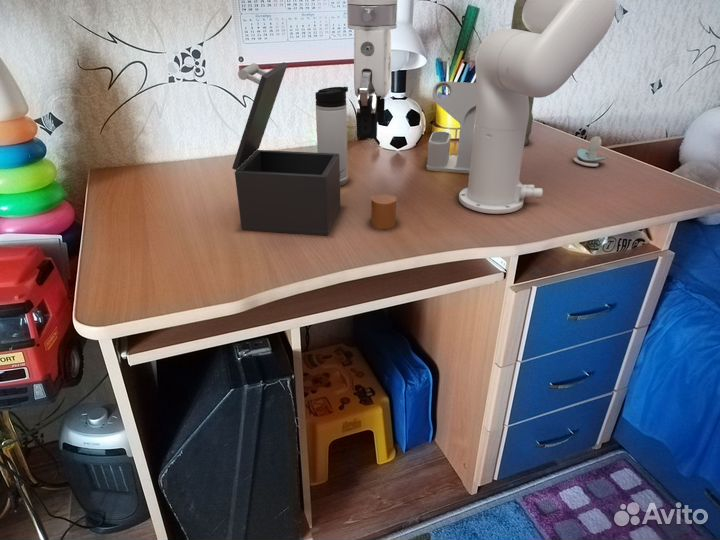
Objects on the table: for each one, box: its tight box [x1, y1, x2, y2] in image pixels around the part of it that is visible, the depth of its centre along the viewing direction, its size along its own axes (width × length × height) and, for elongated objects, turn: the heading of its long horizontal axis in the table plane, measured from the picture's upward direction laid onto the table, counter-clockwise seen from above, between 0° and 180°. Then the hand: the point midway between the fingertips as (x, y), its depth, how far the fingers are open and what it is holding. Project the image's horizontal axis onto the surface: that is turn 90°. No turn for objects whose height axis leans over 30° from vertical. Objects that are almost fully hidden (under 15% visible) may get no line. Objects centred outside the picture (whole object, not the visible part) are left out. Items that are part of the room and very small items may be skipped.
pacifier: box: [573, 135, 609, 168], centre depth 126 cm, size 7×6×6 cm
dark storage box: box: [234, 149, 341, 237], centre depth 99 cm, size 16×12×11 cm
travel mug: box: [315, 86, 349, 187], centre depth 112 cm, size 6×7×20 cm
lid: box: [231, 61, 289, 171], centre depth 92 cm, size 17×12×5 cm
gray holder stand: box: [425, 81, 477, 174], centre depth 122 cm, size 17×10×18 cm, turn 76°
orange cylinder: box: [370, 193, 397, 230], centre depth 98 cm, size 4×4×5 cm
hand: (371, 129), depth 91 cm, fingers open, 9 cm apart
